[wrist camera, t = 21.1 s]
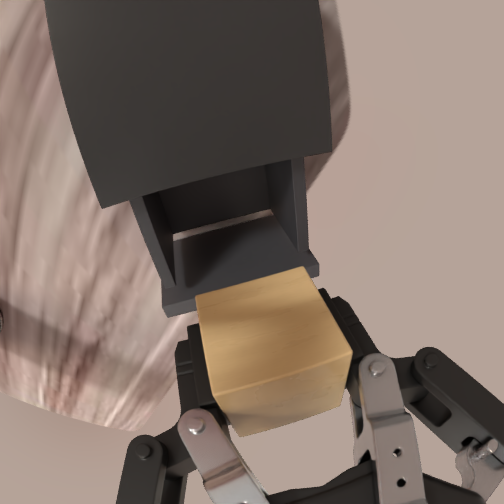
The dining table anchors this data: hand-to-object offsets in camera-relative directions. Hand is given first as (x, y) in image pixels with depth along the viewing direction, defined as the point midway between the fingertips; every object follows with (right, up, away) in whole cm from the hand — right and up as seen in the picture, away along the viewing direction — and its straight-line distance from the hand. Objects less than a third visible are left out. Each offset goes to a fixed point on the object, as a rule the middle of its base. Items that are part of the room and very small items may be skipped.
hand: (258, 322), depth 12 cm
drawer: (-3, +7, +13) cm, 15 cm away
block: (0, 0, 0) cm, 0 cm away
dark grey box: (-5, +18, +6) cm, 19 cm away
